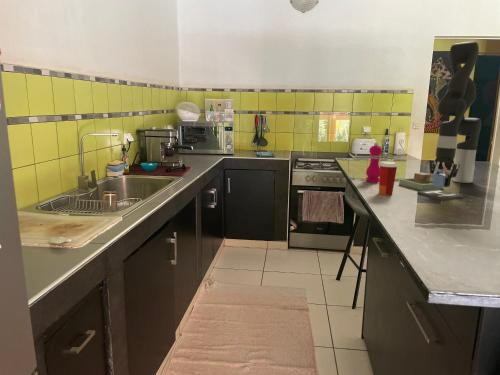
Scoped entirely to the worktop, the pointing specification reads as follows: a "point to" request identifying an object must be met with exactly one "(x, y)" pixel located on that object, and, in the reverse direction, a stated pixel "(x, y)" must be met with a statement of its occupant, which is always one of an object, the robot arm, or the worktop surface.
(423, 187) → the tray
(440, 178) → the slate cube
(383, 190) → the paper cup
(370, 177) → the pepper mill
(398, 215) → the worktop surface
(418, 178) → the walnut block
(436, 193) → the letter mat
